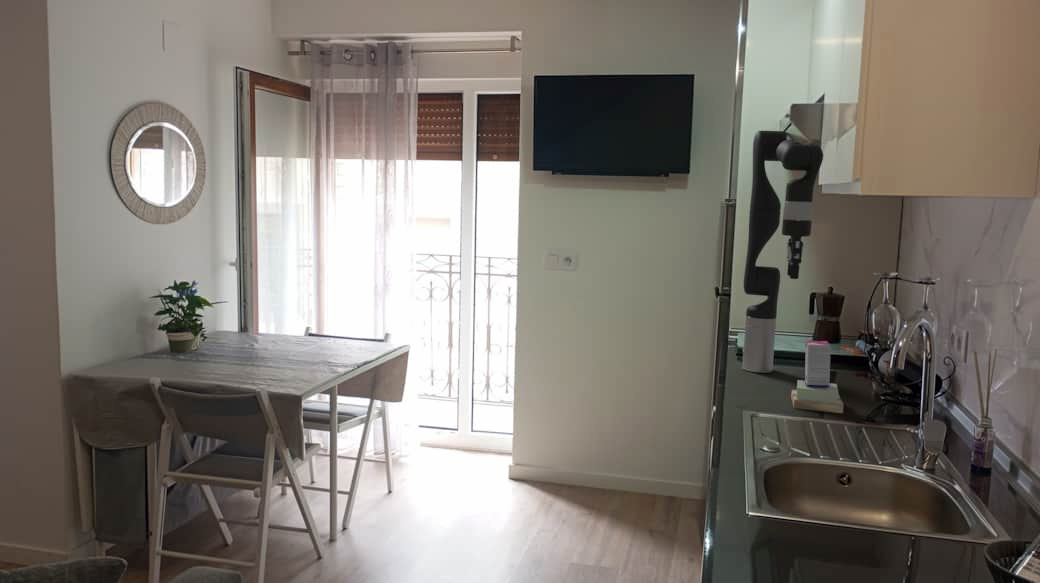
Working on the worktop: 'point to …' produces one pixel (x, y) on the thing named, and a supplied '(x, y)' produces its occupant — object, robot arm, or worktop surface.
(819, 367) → the supplement box
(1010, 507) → the worktop surface
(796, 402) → the birch slab
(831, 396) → the sage slab
